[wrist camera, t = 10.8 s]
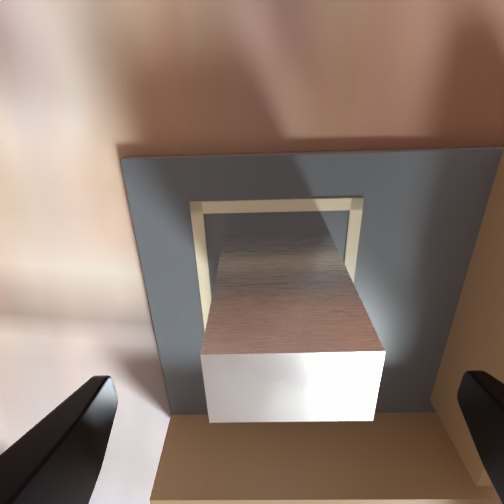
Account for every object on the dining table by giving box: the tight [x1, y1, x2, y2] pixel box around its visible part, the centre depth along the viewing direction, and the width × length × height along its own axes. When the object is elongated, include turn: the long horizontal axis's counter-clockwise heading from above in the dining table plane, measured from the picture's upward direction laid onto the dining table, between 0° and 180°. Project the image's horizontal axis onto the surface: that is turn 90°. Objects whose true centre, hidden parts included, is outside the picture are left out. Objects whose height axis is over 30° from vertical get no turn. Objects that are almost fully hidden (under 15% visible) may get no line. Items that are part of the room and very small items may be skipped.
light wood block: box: [200, 234, 385, 423], centre depth 13 cm, size 8×4×7 cm, turn 2°
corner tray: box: [120, 146, 504, 504], centre depth 15 cm, size 16×16×5 cm
